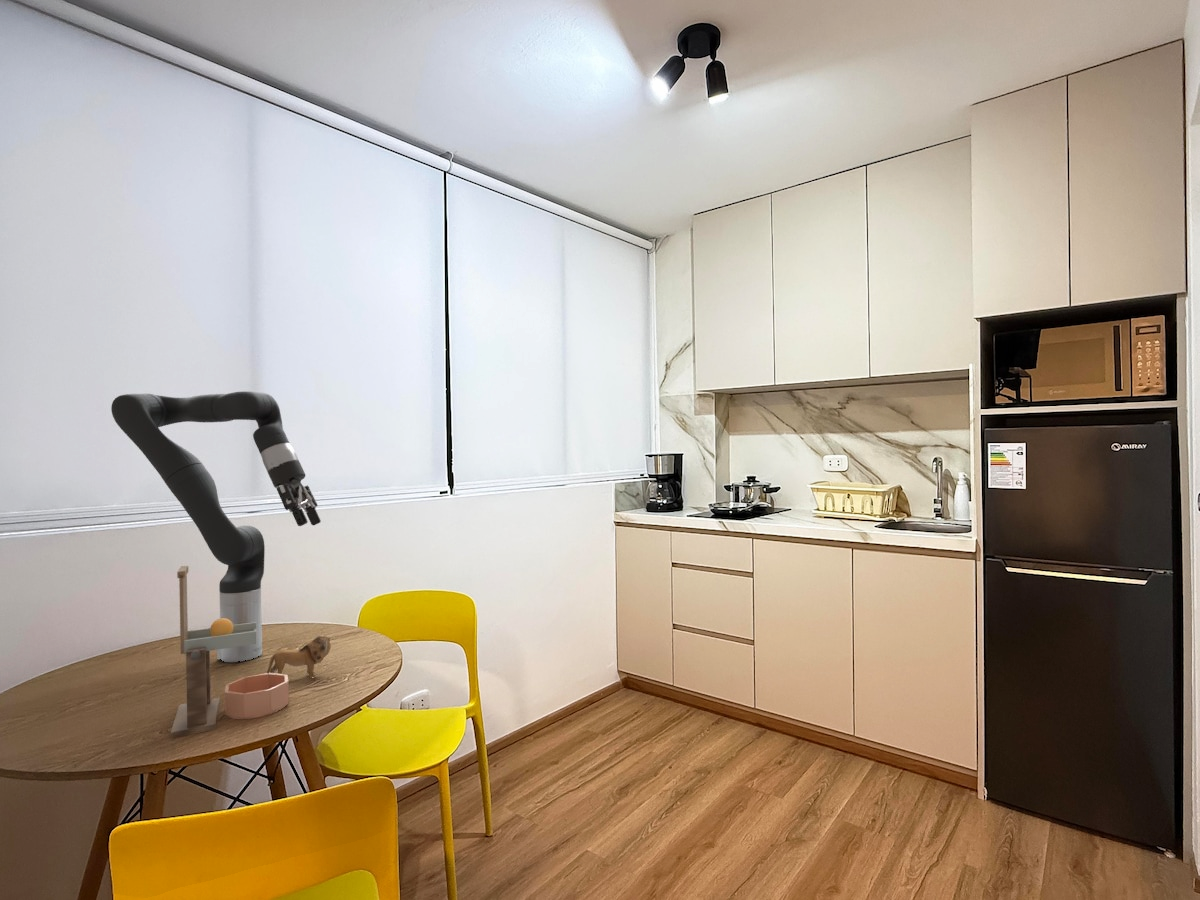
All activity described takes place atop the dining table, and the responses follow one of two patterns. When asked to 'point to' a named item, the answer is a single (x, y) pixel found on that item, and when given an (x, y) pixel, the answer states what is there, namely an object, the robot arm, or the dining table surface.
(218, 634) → the ball
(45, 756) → the dining table surface
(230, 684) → the bowl
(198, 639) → the tipping tray
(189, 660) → the stand
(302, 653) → the lion figurine
